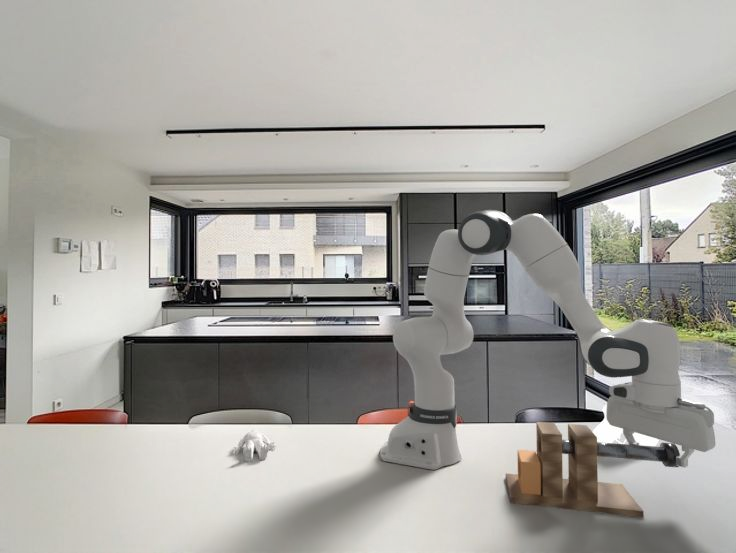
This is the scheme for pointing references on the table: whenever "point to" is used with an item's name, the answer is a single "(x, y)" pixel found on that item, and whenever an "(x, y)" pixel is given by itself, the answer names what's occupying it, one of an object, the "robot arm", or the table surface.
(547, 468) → the threaded rod press
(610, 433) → the handgun
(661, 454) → the shaft
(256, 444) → the toy creature
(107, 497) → the table surface
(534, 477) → the block
